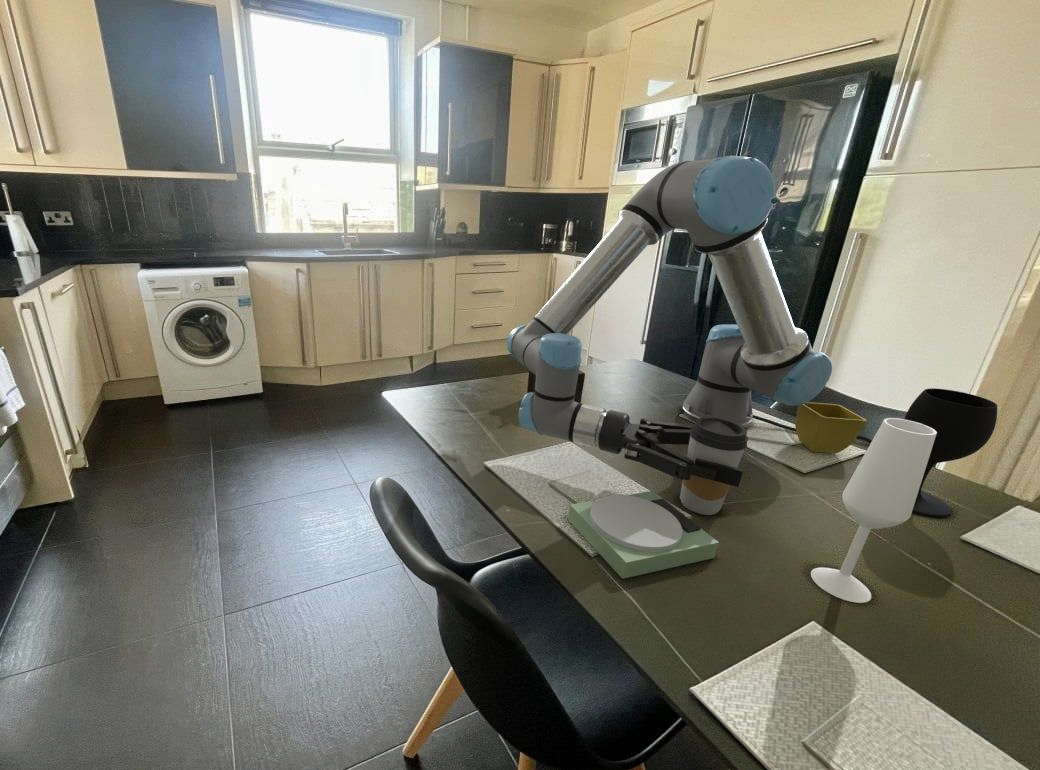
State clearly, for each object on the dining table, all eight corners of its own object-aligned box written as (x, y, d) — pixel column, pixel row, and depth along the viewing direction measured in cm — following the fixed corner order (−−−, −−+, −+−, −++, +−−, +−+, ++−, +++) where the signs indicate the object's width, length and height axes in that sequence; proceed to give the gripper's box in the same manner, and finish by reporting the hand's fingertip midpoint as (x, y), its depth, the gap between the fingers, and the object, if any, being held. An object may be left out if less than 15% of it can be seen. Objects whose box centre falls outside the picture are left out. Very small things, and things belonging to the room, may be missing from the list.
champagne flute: (853, 608, 62) (930, 442, 53) (799, 574, 68) (861, 419, 59) (882, 594, 65) (960, 433, 56) (828, 562, 71) (891, 411, 62)
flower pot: (826, 440, 109) (840, 404, 106) (853, 459, 101) (868, 420, 98) (785, 437, 110) (797, 401, 107) (808, 456, 102) (822, 417, 99)
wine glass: (935, 493, 90) (984, 393, 82) (963, 524, 81) (1021, 415, 73) (865, 479, 93) (906, 382, 86) (885, 507, 85) (932, 402, 77)
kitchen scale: (648, 504, 83) (653, 486, 82) (714, 557, 71) (720, 537, 69) (567, 519, 78) (570, 499, 77) (622, 579, 66) (627, 557, 65)
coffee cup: (721, 497, 86) (744, 420, 80) (731, 524, 79) (757, 441, 73) (670, 487, 88) (689, 412, 83) (675, 512, 81) (696, 432, 75)
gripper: (613, 426, 99) (737, 455, 89) (581, 473, 81) (733, 518, 70) (620, 391, 96) (748, 418, 86) (588, 433, 78) (747, 473, 67)
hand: (741, 463), depth 78 cm, fingers open, 10 cm apart
